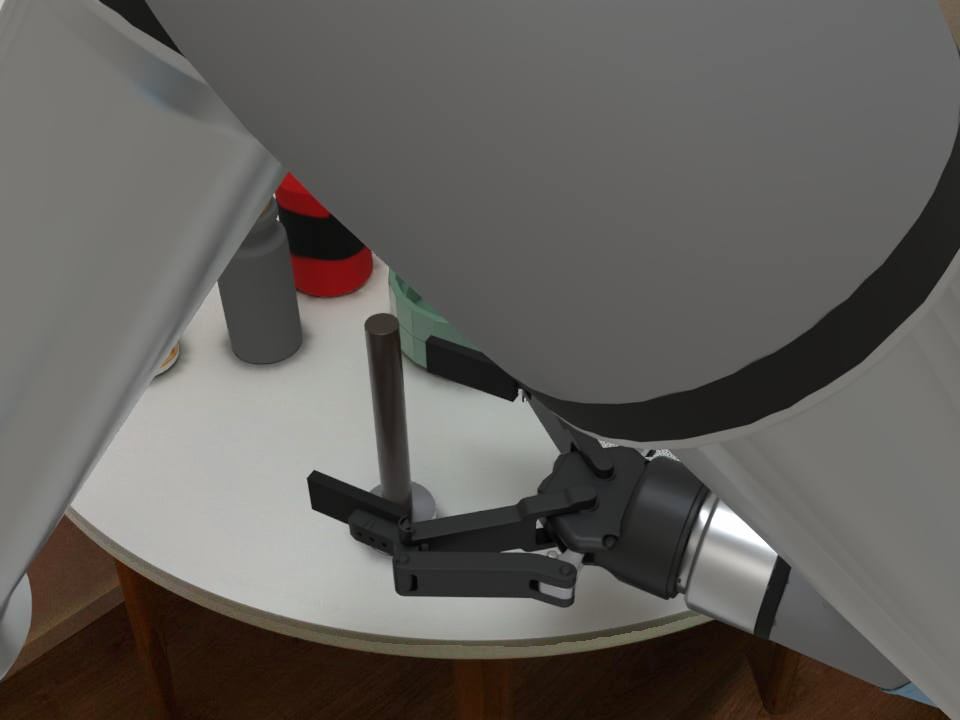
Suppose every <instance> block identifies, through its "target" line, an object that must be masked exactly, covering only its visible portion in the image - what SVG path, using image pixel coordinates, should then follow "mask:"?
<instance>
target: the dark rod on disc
mask: <svg viewBox="0 0 960 720" xmlns="http://www.w3.org/2000/svg"><path fill="white" fill-rule="evenodd" d="M363 325H364V336H365V337H364V338H365V345H366V354H367V355H366V356H367V365H368V366H367V367H368V374H369V375H368V376H369V383H370V384H369V385H370V394H371V405H372V413H373V414H372V415H373V423H374V424H373V425H374V433H375V443H376V453H377V462H378V463H377V464H378V473H379V480H380V481H379V483H380V484H378V485H376V486H375V487H373V488H372V489H371V490H370V491H369V492H370V493H372V494H375V495H377V496H380V497H382V498H384V499H387V500H389V501H392V502H394V503H397V504H399V505H401V506H404V507H406V508H409V509H411V514H412V523H414V522H420V521H426V520H432V519H437V513H436V500H435V498H434V496H433V494H432V493H431V492H430V490H428V489H427V488H426V487H425V486H424V485H422V484H420V483H418V482H415V481H412V474H411V462H410V461H411V460H410V448H409V435H408V434H409V433H408V420H407V407H406V395H405V394H406V393H405V382H404V381H405V379H404V367H403V351H402V350H401V338H400V325H399V320H398V319H397V318H396V317H395V316H394V315H392V314H391V313H387V312H379V313H375V314H372V315H370V316H369V317H368V318H366V320H365V321H364V324H363ZM373 549H374V550H375V551H377V552H379V553H382V554H383V555H389V554H387V553H385V552H382V551H380V550H378V549H375V548H373ZM389 556H390V555H389Z"/></svg>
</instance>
